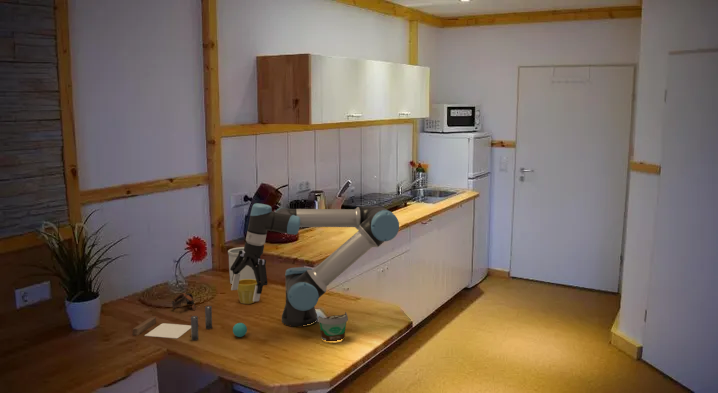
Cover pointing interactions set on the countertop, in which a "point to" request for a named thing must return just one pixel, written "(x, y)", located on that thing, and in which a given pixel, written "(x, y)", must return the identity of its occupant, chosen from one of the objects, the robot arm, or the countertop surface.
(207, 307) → the post
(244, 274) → the utensil holder
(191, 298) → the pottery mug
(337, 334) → the food container
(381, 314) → the countertop surface
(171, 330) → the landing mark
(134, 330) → the wall
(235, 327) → the ball
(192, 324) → the post
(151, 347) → the countertop surface
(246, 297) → the plant pot
